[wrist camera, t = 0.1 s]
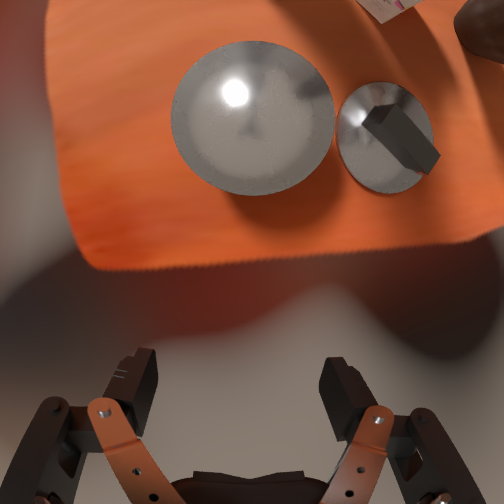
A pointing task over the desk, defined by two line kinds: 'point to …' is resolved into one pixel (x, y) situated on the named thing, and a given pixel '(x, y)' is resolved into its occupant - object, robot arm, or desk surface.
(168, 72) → the desk surface
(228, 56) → the cooker pot
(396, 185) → the cooker lid
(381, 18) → the ink cartridge box
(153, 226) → the desk surface
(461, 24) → the plant pot
